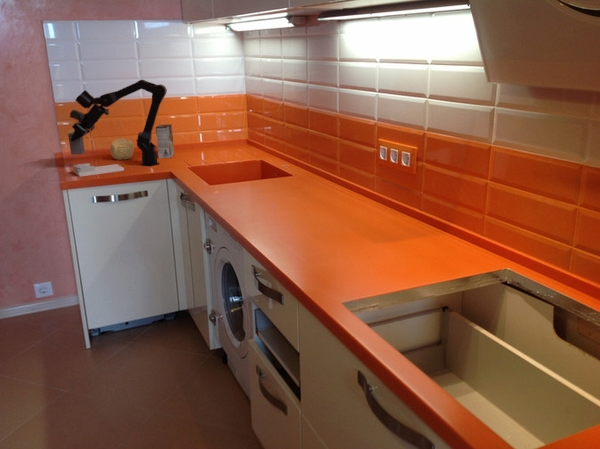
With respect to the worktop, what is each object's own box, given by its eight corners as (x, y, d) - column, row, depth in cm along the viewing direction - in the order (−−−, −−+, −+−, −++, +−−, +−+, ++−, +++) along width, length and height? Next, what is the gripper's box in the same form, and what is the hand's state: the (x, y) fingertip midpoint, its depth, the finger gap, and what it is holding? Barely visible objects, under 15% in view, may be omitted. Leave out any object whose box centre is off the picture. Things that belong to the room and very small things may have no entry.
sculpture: (114, 162, 275) (111, 140, 272) (109, 158, 285) (106, 137, 282) (137, 159, 281) (134, 138, 277) (131, 155, 291) (129, 135, 287)
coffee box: (162, 154, 292) (159, 124, 287) (174, 154, 292) (171, 124, 287) (158, 158, 283) (155, 127, 278) (170, 157, 283) (167, 126, 278)
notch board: (117, 166, 265) (116, 159, 264) (123, 170, 256) (123, 163, 255) (74, 172, 254) (72, 164, 253) (79, 176, 246) (78, 168, 244)
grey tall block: (84, 152, 265) (81, 129, 262) (82, 154, 261) (78, 131, 257) (74, 152, 265) (70, 129, 261) (71, 154, 260) (67, 131, 257)
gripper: (84, 101, 264) (64, 125, 267) (73, 105, 247) (52, 131, 249) (103, 117, 268) (83, 140, 270) (94, 122, 250) (73, 147, 252)
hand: (73, 139), depth 260 cm, fingers closed on grey tall block, 5 cm apart
